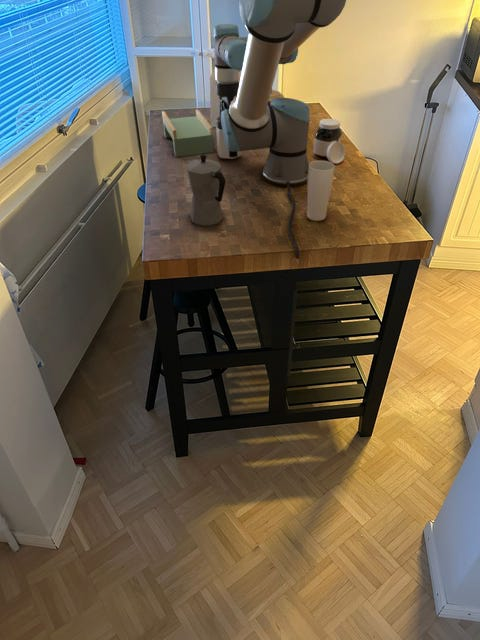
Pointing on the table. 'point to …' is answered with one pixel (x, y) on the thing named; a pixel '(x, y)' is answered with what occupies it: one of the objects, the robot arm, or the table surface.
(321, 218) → the drinking glass
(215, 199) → the coffeepot
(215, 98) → the milk
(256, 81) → the robot arm
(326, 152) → the spread jar
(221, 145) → the jar
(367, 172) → the table surface
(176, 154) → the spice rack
